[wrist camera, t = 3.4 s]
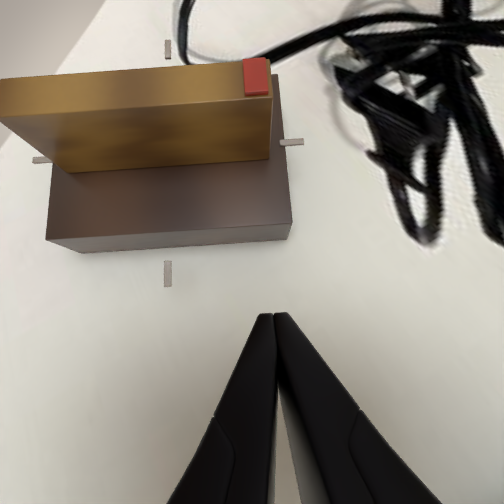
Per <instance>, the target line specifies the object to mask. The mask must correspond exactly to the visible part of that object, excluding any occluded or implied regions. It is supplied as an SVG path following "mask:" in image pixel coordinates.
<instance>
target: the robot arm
mask: <svg viewBox="0 0 504 504" xmlns="http://www.w3.org/2000/svg"><path fill="white" fill-rule="evenodd" d="M278 389H279V395H280V401H281V406H282V411H283V415H284V420H285V425H286V430H287V435H288V440H289V445H290V450H291V454H292V459H293V464H294V469H295V474H296V479H297V484H298V488H299V493H300V498H301V503H302V504H442V503H441V502H440V501H439V500H438V499H437V497H436V496H435V495H434V494H433V493H432V492H431V491H430V490H429V489H428V488H427V487H426V485H425V484H424V483H423V482H422V481H421V480H420V479H419V478H418V477H417V476H416V475H415V474H414V472H413V471H412V470H411V469H410V468H409V467H408V466H407V465H406V463H405V462H404V461H403V460H402V459H401V458H400V457H399V456H398V454H397V453H396V452H395V451H394V450H393V449H392V448H391V446H390V445H389V444H388V443H387V442H386V440H385V439H384V438H383V437H382V435H381V434H380V433H379V432H378V430H377V429H376V428H375V427H374V425H373V424H372V423H371V421H370V420H369V419H368V417H367V416H366V415H365V413H364V412H363V411H362V410H359V409H360V407H359V406H358V404H357V403H356V402H355V401H354V399H353V398H352V397H351V395H350V394H349V393H348V391H347V390H346V389H345V387H344V386H343V385H342V383H341V382H340V381H339V379H338V378H337V377H336V375H335V374H334V373H333V371H332V370H331V369H330V368H329V366H328V365H327V364H326V362H325V361H324V360H323V358H322V357H321V356H320V354H319V353H318V352H317V350H316V349H315V348H314V346H313V345H312V344H311V342H310V341H309V340H308V339H307V337H306V336H305V335H304V333H303V332H302V331H301V329H300V328H299V327H298V325H297V324H296V323H295V321H294V320H293V319H292V317H291V316H290V315H289V314H288V313H287V312H281V313H274V315H273V314H272V313H262V314H259V315H258V317H257V319H256V321H255V324H254V326H253V328H252V330H251V332H250V335H249V337H248V339H247V341H246V344H245V346H244V348H243V350H242V352H241V355H240V357H239V359H238V361H237V364H236V366H235V368H234V370H233V372H232V375H231V377H230V379H229V381H228V384H227V386H226V388H225V390H224V392H223V395H222V397H221V399H220V401H219V403H218V406H217V408H216V410H215V412H214V417H212V419H211V421H210V423H209V425H208V427H207V430H206V432H205V434H204V436H203V438H202V440H201V442H200V444H199V446H198V448H197V450H196V452H195V454H194V456H193V458H192V460H191V462H190V464H189V465H188V467H187V469H186V471H185V473H184V474H183V476H182V478H181V480H180V481H179V483H178V485H177V487H176V488H175V490H174V492H173V493H172V495H171V497H170V498H169V500H168V502H167V503H166V504H274V494H275V466H276V438H277V410H278Z"/></svg>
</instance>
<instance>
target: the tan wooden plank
mask: <svg viewBox="0 0 504 504" xmlns="http://www.w3.org/2000/svg"><path fill="white" fill-rule="evenodd" d="M272 108H273V90H272V79H271V68H270V60H269V59H266V58H265V57H263V58H250V59H243V61H239V62H225V63H212V64H198V65H184V66H171V67H157V68H143V69H130V70H116V71H102V72H89V73H75V74H61V75H48V76H34V77H21V78H8V79H1V80H0V122H1V123H2V124H4V125H5V126H6V127H8V128H9V129H10V130H12V131H13V132H14V133H15V134H17V135H18V136H19V137H21V138H22V139H23V140H25V141H26V142H27V143H29V144H30V145H31V146H32V147H34V148H35V149H36V150H38V151H39V152H40V153H42V154H43V155H44V156H46V157H47V158H48V159H49V160H51V161H52V162H53V163H55V164H56V165H57V166H59V167H60V168H61V169H63V170H64V171H65V172H66V173H78V172H92V171H106V170H120V169H135V168H149V167H163V166H178V165H192V164H206V163H220V162H235V161H249V160H263V159H269V157H270V140H271V124H272Z"/></svg>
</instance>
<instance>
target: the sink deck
mask: <svg viewBox="0 0 504 504" xmlns="http://www.w3.org/2000/svg"><path fill="white" fill-rule="evenodd" d="M165 59H171V40H165ZM271 79H272V90H273V108H272V124H271V140H270V157H269V159H263V160H249V161H235V162H220V163H206V164H192V165H178V166H163V167H149V168H135V169H120V170H106V171H92V172H78V173H66V172H65V171H64V170H63V169H61V168H60V167H59V166H57V165H56V164H55V163H53V162H52V161H51V160H49V159H48V158H47V157H46V156H45V157H33V161H32V163H34V164H40V163H53V166H52V177H51V187H50V197H49V208H48V218H47V229H46V240H47V241H50V242H53V243H55V244H58V245H61V246H63V247H66V248H69V249H71V250H74V251H77V252H79V253H94V252H109V251H123V250H138V249H153V248H168V247H183V246H198V245H212V244H227V243H242V242H257V241H272V240H286V239H287V237H288V234H289V231H290V228H291V225H292V213H291V202H290V192H289V182H288V172H287V162H286V152H285V146H295V145H304V140H303V138H300V139H286V140H284V131H283V121H282V111H281V101H280V91H279V81H278V74H272V75H271ZM164 287H171V261H164Z"/></svg>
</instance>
